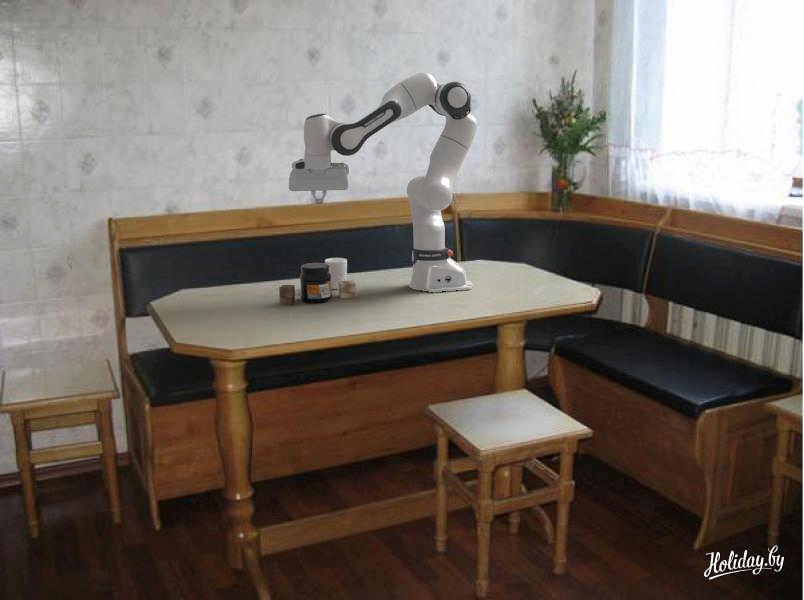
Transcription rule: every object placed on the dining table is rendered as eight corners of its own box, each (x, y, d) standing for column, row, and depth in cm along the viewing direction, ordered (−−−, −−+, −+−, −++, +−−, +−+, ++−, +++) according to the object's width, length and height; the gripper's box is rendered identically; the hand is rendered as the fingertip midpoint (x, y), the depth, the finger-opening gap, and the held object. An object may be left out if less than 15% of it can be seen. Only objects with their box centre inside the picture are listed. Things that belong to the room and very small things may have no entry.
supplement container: (330, 304, 283) (329, 268, 280) (298, 304, 283) (297, 268, 280) (333, 296, 293) (332, 262, 290) (303, 296, 294) (301, 262, 291)
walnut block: (295, 302, 286) (294, 285, 284) (291, 305, 282) (290, 287, 280) (283, 302, 286) (282, 284, 285) (280, 305, 283) (279, 287, 281)
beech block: (353, 294, 296) (352, 280, 295) (356, 297, 291) (355, 283, 290) (338, 295, 295) (338, 281, 294) (341, 298, 290) (341, 284, 289)
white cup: (349, 284, 310) (348, 257, 307) (345, 290, 302) (345, 262, 300) (327, 284, 310) (327, 257, 308) (323, 289, 303) (323, 262, 300)
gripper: (348, 161, 292) (349, 201, 295) (288, 162, 290) (290, 203, 294) (348, 163, 286) (350, 204, 289) (287, 164, 284) (289, 205, 288)
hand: (319, 203), depth 291 cm, fingers closed
